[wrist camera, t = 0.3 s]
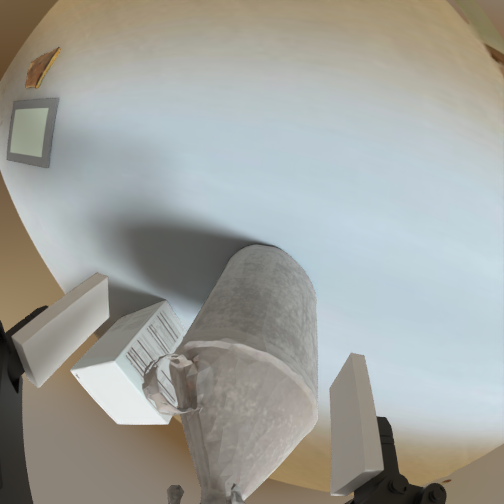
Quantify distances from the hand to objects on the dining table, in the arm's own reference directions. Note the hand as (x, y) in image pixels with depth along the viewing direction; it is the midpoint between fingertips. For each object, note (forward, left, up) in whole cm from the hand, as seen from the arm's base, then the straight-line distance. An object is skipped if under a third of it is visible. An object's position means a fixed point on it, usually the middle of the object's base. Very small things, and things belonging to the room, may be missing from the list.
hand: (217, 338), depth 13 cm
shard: (-21, -55, -28) cm, 65 cm away
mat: (-6, -54, -28) cm, 61 cm away
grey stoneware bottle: (+11, +2, -28) cm, 30 cm away
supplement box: (+28, -15, -28) cm, 42 cm away
